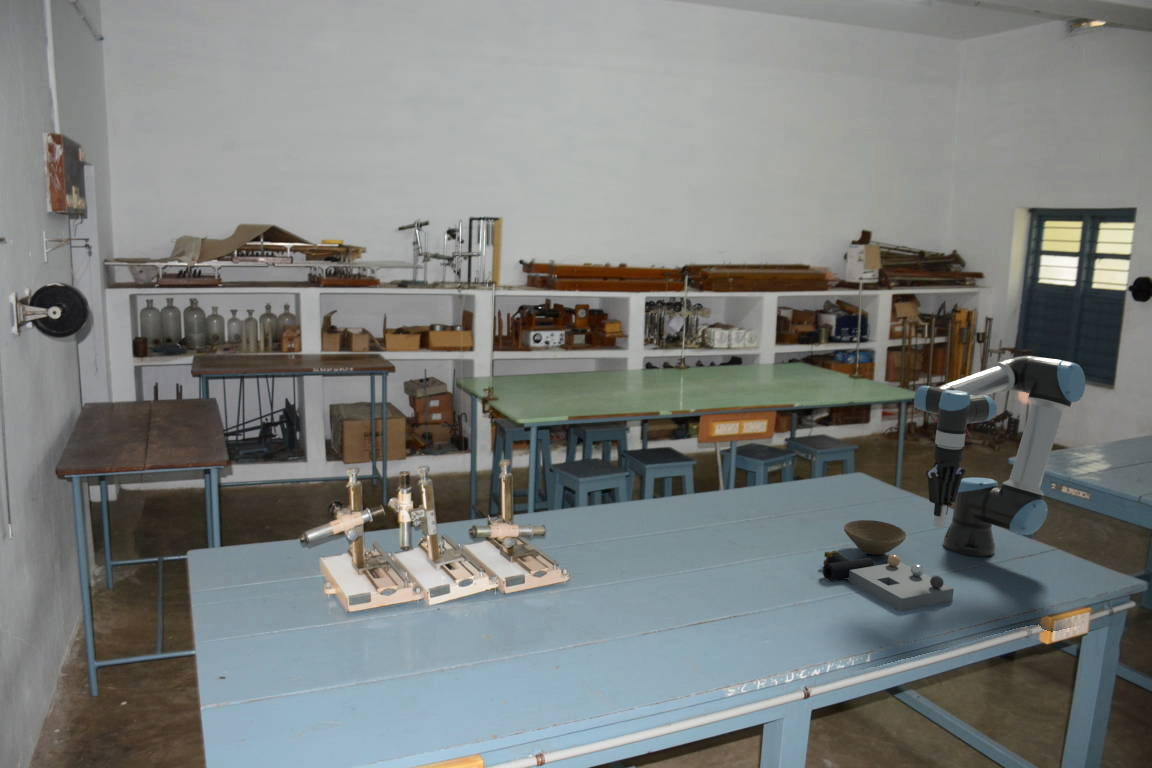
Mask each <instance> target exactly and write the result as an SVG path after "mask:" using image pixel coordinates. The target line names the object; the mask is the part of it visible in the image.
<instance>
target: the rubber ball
mask: <svg viewBox="0 0 1152 768" xmlns="http://www.w3.org/2000/svg"><path fill="white" fill-rule="evenodd" d="M943 583H944V579H943V578H942V577H941V576H939V575H934V576H931V580H930V584H931V586H932V587H934V588H937V589H938V588H941V587H942V586H943ZM944 584H945V583H944Z"/></svg>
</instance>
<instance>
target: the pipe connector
mask: <svg viewBox="0 0 1152 768" xmlns="http://www.w3.org/2000/svg"><path fill="white" fill-rule="evenodd" d="M824 558H825V560H823V567H822V574H823V577H824V579H825V580H827V581H829V582H835V581H840V580H842V581H843V580H849V570H853V569H859V568H865V567H871V566H876V563H875V561H874V560H873V559H872V558H870V557H867V558H860V559H853V560H852V559H851V560H850V558H847V557H845V556H844V555H843V554H842V553H841V552H840V551H837V550H831V551H824Z"/></svg>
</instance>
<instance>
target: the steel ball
mask: <svg viewBox="0 0 1152 768" xmlns="http://www.w3.org/2000/svg"><path fill="white" fill-rule="evenodd" d="M924 571H925V570H924V567H922V566H921V565H920V564H913V565H912V566H911V573H912V574H913V575H914V576H916V577H920V576H922V575H923V574H925V573H924Z"/></svg>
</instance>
